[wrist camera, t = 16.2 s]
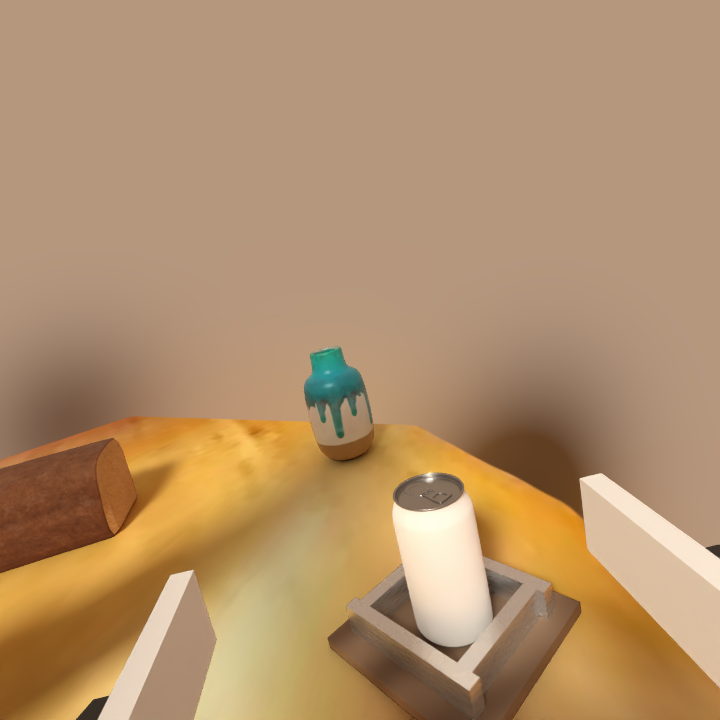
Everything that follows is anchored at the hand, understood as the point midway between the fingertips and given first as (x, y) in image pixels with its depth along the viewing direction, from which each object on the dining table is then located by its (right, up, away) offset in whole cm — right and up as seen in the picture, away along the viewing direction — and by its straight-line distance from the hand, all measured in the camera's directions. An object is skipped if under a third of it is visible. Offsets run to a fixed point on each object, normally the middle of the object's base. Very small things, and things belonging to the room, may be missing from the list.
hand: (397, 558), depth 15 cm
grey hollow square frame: (+7, -16, +22) cm, 28 cm away
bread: (-58, -25, +55) cm, 83 cm away
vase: (-3, -10, +63) cm, 64 cm away
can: (+7, -15, +22) cm, 28 cm away
